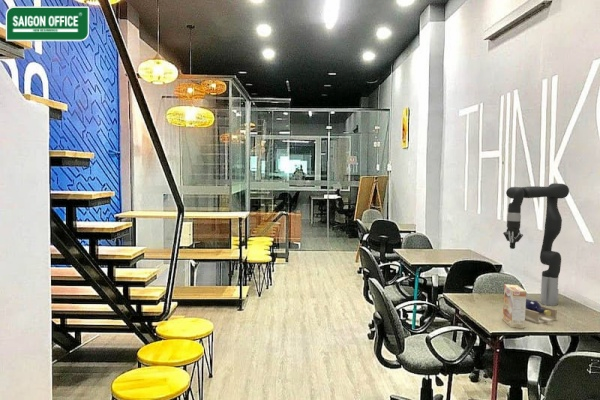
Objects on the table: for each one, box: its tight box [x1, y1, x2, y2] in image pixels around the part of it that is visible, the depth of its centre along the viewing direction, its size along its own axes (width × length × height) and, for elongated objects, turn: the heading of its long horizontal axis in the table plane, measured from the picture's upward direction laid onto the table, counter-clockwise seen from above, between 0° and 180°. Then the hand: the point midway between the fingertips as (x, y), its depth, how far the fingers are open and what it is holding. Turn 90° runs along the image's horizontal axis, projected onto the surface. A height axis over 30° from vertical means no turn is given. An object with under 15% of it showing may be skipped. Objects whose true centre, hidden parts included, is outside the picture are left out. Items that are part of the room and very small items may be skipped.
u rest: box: [525, 305, 558, 325], centre depth 278 cm, size 16×14×6 cm
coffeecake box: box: [502, 283, 527, 329], centre depth 266 cm, size 15×7×20 cm, turn 174°
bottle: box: [526, 297, 551, 316], centre depth 281 cm, size 9×9×30 cm
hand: (512, 248), depth 304 cm, fingers closed
